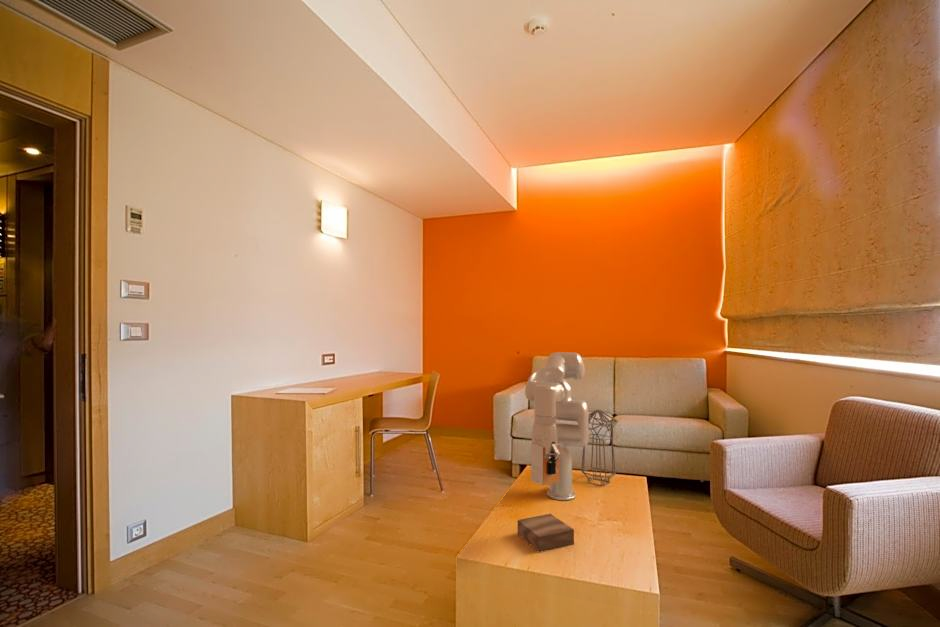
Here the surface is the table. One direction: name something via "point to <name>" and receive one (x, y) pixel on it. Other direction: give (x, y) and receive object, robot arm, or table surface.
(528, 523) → the walnut plinth
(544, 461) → the small box
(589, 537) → the table surface
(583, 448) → the geometric lantern
